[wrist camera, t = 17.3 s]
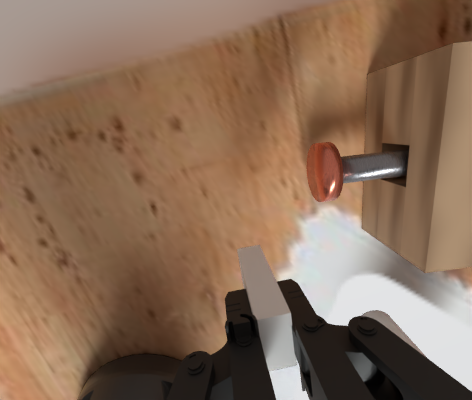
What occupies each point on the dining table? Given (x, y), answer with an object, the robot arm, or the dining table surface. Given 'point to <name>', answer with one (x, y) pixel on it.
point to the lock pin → (349, 168)
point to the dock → (423, 158)
